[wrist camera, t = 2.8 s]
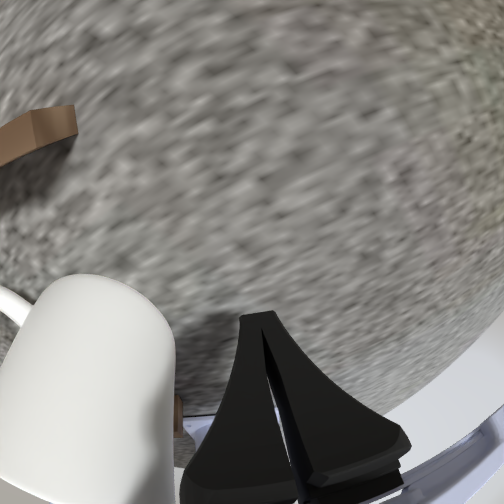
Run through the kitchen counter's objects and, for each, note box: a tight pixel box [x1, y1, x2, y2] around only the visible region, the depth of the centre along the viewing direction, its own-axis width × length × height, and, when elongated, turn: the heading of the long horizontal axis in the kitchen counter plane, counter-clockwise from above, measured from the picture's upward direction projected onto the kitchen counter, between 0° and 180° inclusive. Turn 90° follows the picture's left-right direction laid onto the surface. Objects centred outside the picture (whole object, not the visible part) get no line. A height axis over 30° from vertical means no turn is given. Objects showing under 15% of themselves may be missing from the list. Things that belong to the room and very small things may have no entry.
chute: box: [0, 105, 183, 438], centre depth 10 cm, size 19×18×3 cm
